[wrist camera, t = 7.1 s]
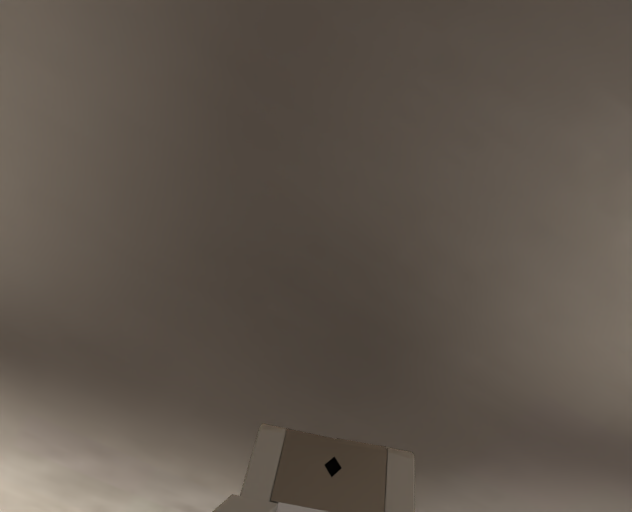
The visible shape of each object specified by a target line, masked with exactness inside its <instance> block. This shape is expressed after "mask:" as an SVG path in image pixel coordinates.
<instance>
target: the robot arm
mask: <svg viewBox="0 0 632 512" xmlns="http://www.w3.org/2000/svg"><path fill="white" fill-rule="evenodd" d="M213 512H415V457H414V455H413V452H409V451H403V450H398V449H393V448H386V447H385V446H379V445H374V444H368V443H362V442H356V441H351V440H345V439H339V438H337V439H334V438H330V437H325V436H320V435H316V434H311V433H306V432H302V431H297V430H292V429H287V428H282V427H277V426H272V425H267V424H262V425H261V427H260V429H259V431H258V434H257V438H256V441H255V445H254V448H253V452H252V455H251V459H250V462H249V466H248V469H247V473H246V476H245V480H244V483H243V486H242V490H241V493H240V496H239V495H233V494H232V495H231V496H230V497H229V498H228V499H227V500H225V501H224V502H223V503H222V504H221V505H220V506H218V507H217V508H216V509H215V510H214V511H213Z"/></svg>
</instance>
